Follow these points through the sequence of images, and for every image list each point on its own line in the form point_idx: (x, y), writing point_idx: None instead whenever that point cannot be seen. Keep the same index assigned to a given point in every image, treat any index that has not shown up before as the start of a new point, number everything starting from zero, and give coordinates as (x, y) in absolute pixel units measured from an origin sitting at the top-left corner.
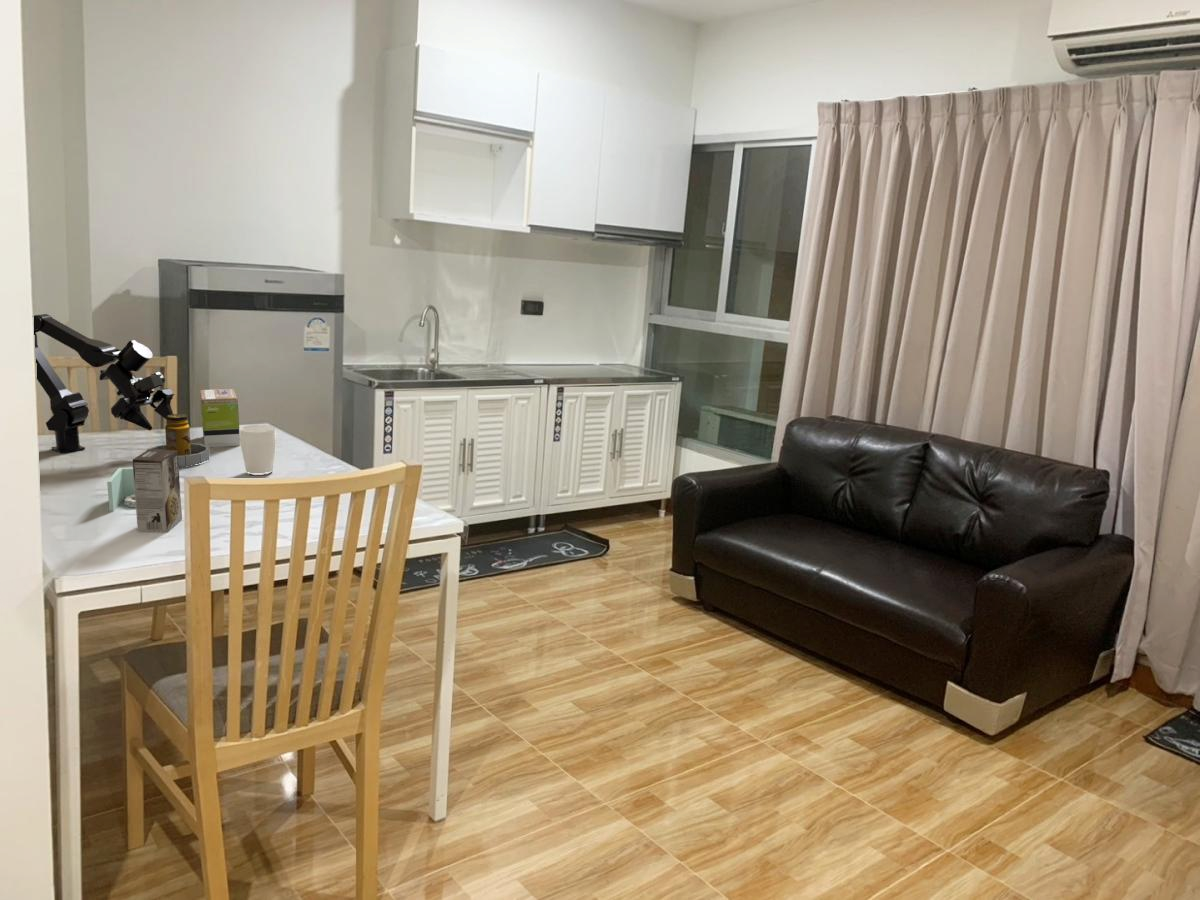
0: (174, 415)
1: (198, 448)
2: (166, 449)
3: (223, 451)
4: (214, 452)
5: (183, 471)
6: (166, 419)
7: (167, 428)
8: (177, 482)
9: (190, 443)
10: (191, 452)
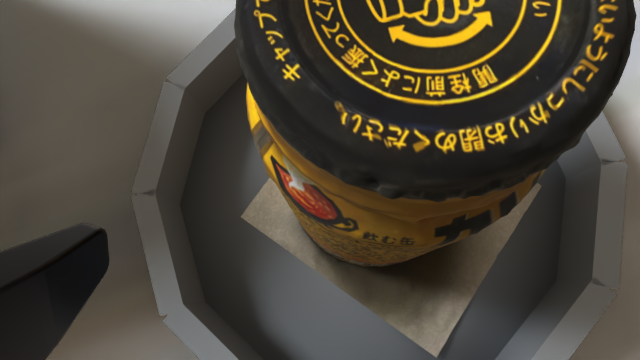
0: (375, 53)
1: (192, 105)
2: (230, 334)
3: (103, 14)
4: (131, 55)
5: (637, 63)
6: (523, 177)
7: (541, 172)
8: None
9: (149, 162)
10: (196, 167)
